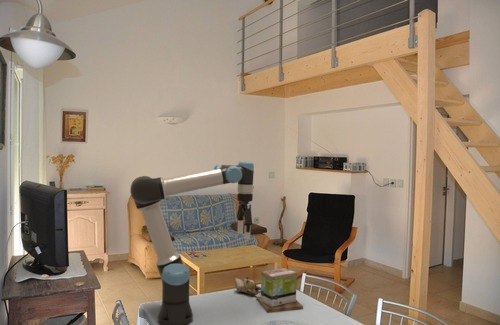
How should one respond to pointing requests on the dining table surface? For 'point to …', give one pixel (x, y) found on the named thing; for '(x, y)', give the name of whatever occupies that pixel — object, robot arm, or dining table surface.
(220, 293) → the dining table surface
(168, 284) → the robot arm
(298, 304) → the walnut board
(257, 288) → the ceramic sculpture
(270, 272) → the tea box
